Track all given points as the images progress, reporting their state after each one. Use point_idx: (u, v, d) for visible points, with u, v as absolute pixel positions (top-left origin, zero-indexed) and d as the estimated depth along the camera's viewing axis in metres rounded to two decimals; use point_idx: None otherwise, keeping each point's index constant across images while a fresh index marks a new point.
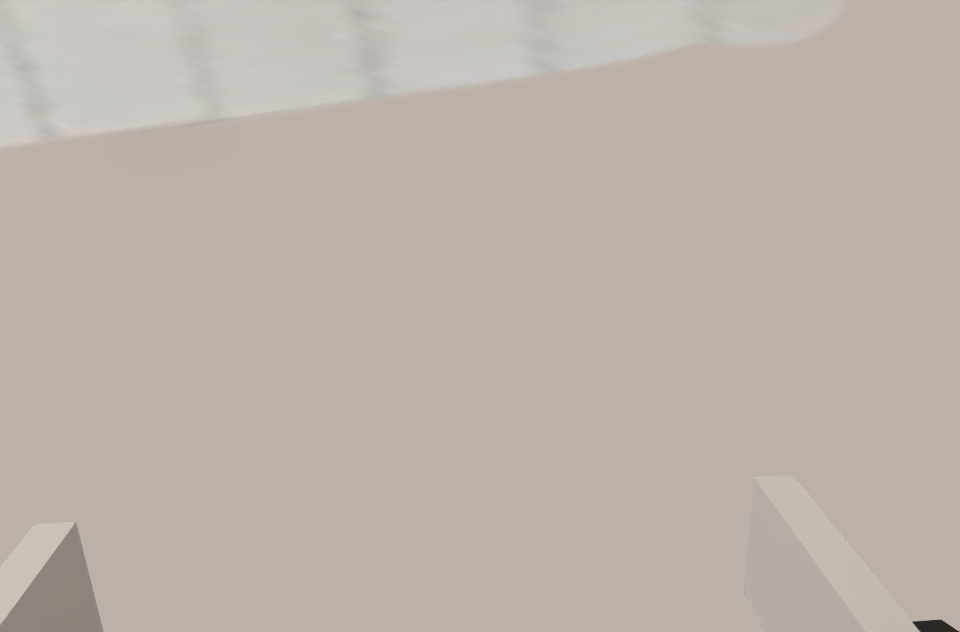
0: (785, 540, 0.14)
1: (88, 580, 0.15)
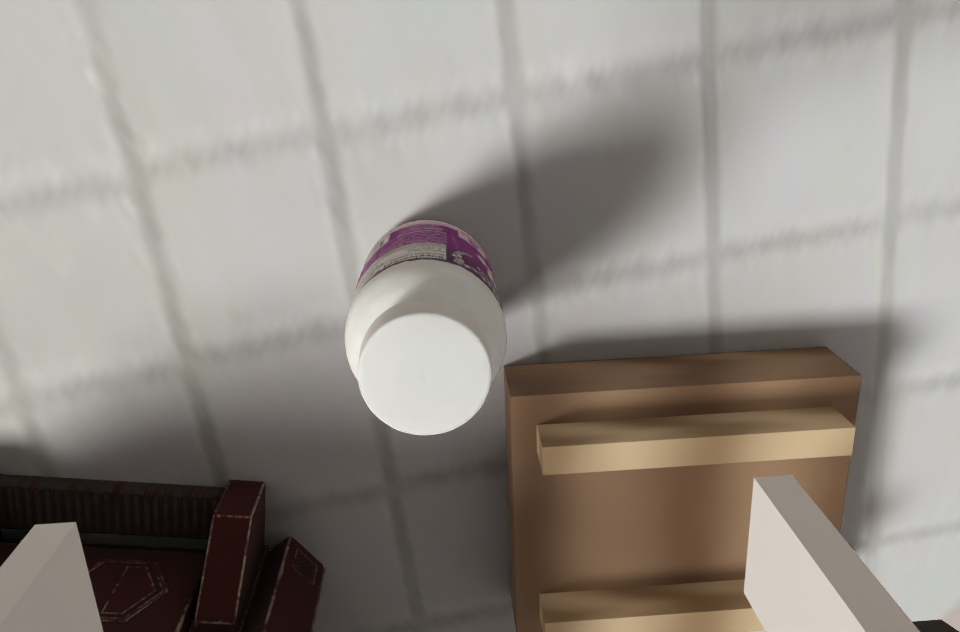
0: (785, 540, 0.14)
1: (87, 580, 0.15)
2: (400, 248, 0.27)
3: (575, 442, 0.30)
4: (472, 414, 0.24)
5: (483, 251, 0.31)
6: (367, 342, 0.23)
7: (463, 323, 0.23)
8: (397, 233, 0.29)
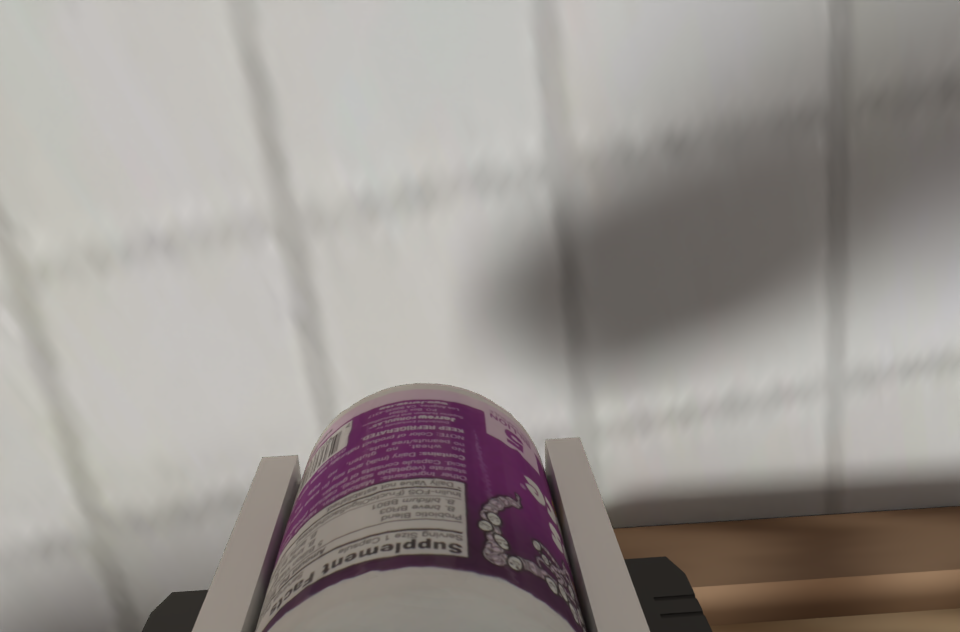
0: (554, 492, 0.16)
1: None
2: (365, 495, 0.12)
3: None
4: None
5: (531, 442, 0.16)
6: None
7: None
8: (365, 426, 0.15)
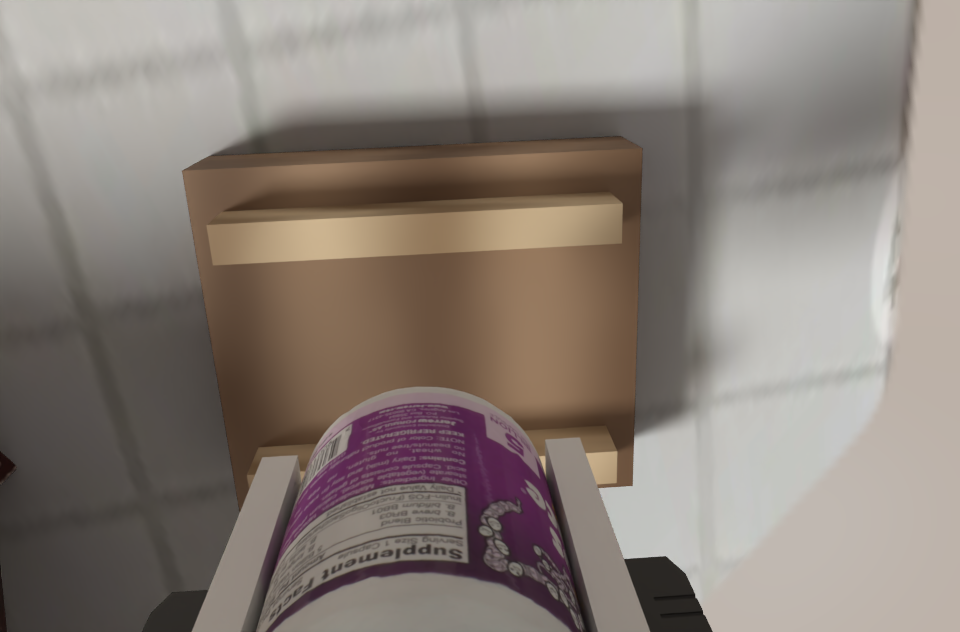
0: (555, 492, 0.16)
1: None
2: (365, 500, 0.12)
3: (254, 221, 0.23)
4: None
5: (531, 445, 0.16)
6: None
7: None
8: (365, 430, 0.15)
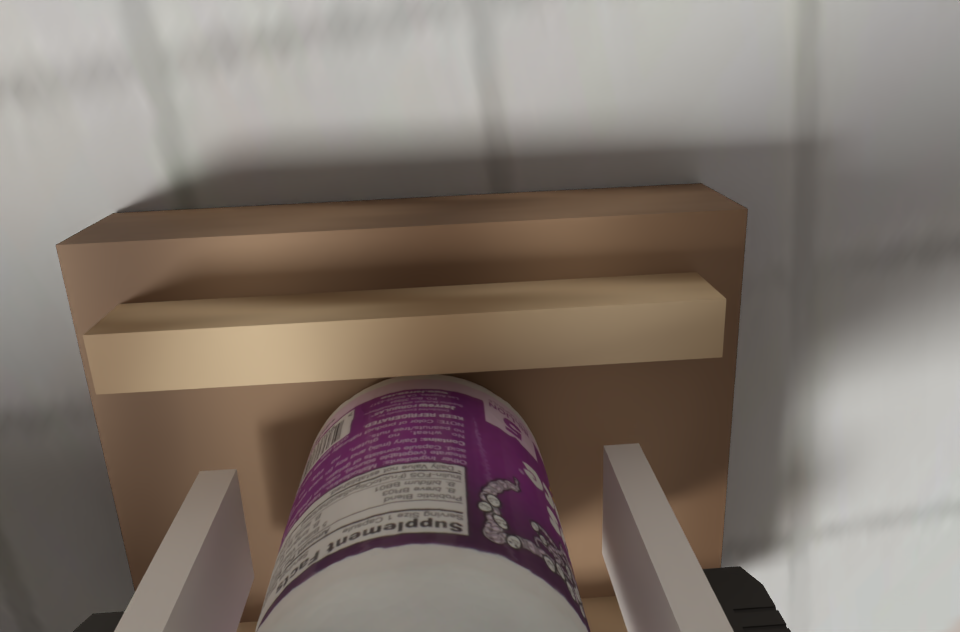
0: (618, 500, 0.15)
1: (243, 523, 0.17)
2: (368, 478, 0.13)
3: (158, 327, 0.15)
4: None
5: (529, 431, 0.17)
6: None
7: None
8: (367, 414, 0.15)
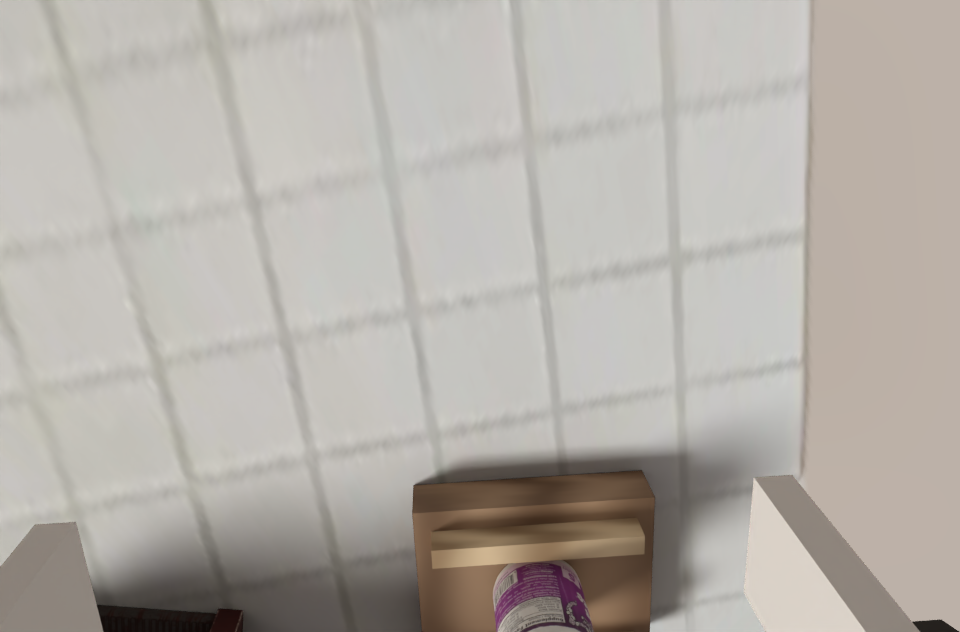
0: (785, 540, 0.14)
1: (87, 580, 0.15)
2: (531, 602, 0.42)
3: (454, 546, 0.44)
4: None
5: (576, 575, 0.46)
6: None
7: None
8: (522, 573, 0.44)
